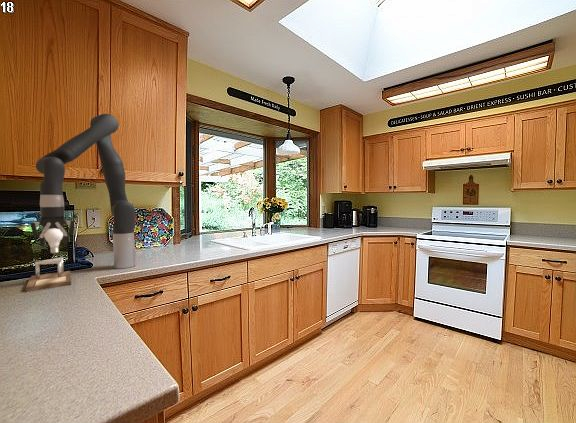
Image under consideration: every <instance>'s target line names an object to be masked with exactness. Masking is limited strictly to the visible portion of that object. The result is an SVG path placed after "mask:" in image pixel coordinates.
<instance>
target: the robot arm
mask: <svg viewBox="0 0 576 423" xmlns="http://www.w3.org/2000/svg"><path fill="white" fill-rule="evenodd" d="M119 125H120V124H119V120H118V119H117V118H116V117H115V116H114V115H112V114H109V113H102V114H101V113H100V114H97V115H95V116H94V117H92V118H91V119H90V122H89V127H88V128H87V129H85V130H84V131H82V132H80V133H78V134H77V135H74V136H73V137H71V138H70V139H68V140H66V141H65V142H64V143H62V144H61V145H60V146H58V148H56V149H54V150H53V151H51V152H49V153H47V154H45V155H43V156H41V157H40V158H39V159H38V160H37V161H36V164H35V169H36V171H38V173H40V174H43V180H41V181H40V184H39V192H40V197H39V198H40V199H39V206H40V208H39V209H40V212H39V213H40V220H39V221H36V222H35V221H32V222H30V228H31V232H32V236H33V237H34V238H39V245H40V247H42V248H46V240H45V238H44V234H45V233H46V232H47V230H48V229H50V228H58V229H59V230H60V231H61V232H62V233H63V235H64V236H63V238H62V240H63V246H67V244H68V243H69V239H68V238H69V236H71V235H73V233H74V226H75V221H74V220H73V219H72V220H67V219H66V216H65V199H64V195H63V194H64V193H63V183H64V178H65V175H66V174H65V172H66V167H65V165H66V164H68V163H71V162H74V161H75V160H76V159H78V158H79V157H80V156H81V155H82V154H84V153H85V152H86V151H88V149H90V148H91V147H93V145H95V144H96V148H97V152H98V157H99V160H100V166H101V170H102V175H103V178H104V181H105V185H106V187H107V188H106V189H107V191H108V196H109V203H110V205H109V206H110V212H111V215H112V216H113V227H112V245H113V246H112V248H113V249H112V250H113V251H112V252H113V258H112V259H113V268H114V269H126V268H131V267H132V268H133V267H136V265H137V263H136V247H135V227H136V210H135V209H136V208H135V206H134V205H133V204H132V203H131V202H129V201H128V198H127V194H126V171H125V167H124V162H123V160H122V158H121V156H120V155H119V153H118V152H117V151H116V149H115V147H114V145H113V142H112V141H113V140H112V136H111V135H112V134H114V133H116V132H117V131H118V129H119ZM65 224H67V225H68V227H69V231H68V232H67V231H66V229H65V228H64V226H65ZM39 225H40V226H42V227H43V229H42V232H41V233H39V234H38V229H37V228H38V227H39Z"/></svg>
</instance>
